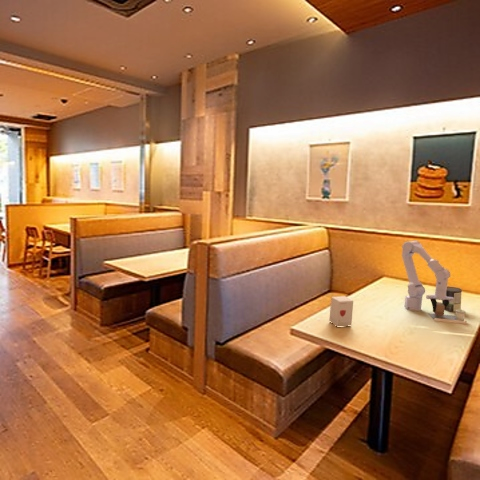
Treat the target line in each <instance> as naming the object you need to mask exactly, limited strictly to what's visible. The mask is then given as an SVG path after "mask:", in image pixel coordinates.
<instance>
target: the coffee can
mask: <svg viewBox="0 0 480 480" xmlns="http://www.w3.org/2000/svg"><path fill="white" fill-rule="evenodd" d="M462 291H463V289H462V288H460V287H454V286H447V290H446V296H447V297H453V298H454V301H449V304H448V305H447V307H446V308H445V310H444V311H446V312H451V313H456V310H460V309H461V308H462V307H461V306H462ZM461 310H462V309H461Z"/></svg>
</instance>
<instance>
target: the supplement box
mask: <svg viewBox="0 0 480 480" xmlns="http://www.w3.org/2000/svg"><path fill="white" fill-rule="evenodd" d="M353 307H354V300H353V299H351V298H349V297H348V296H345V295H342V296H331V297H330V309H329V320H328V322H329V321H331V322H332V323H333V324H335V325H336V326H348V325H351V326H352V322H353V321H352V320H353V309H354V308H353ZM333 324H332V325H333ZM336 326H335V327H336Z"/></svg>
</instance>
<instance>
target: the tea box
mask: <svg viewBox="0 0 480 480" xmlns="http://www.w3.org/2000/svg"><path fill="white" fill-rule="evenodd" d="M444 309H445V306H444V305H443V304H442V301H441V302H440V301H437V304H436V310H435V312H434V311H433V310H432V312H433V314H436V315H440V316H444V315H445V310H444Z"/></svg>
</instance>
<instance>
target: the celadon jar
mask: <svg viewBox="0 0 480 480" xmlns="http://www.w3.org/2000/svg"><path fill="white" fill-rule="evenodd" d="M465 315H466V311H465V310H463V309H460V310H456V312H455V316H456V317H455V320H459V321H465Z"/></svg>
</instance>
